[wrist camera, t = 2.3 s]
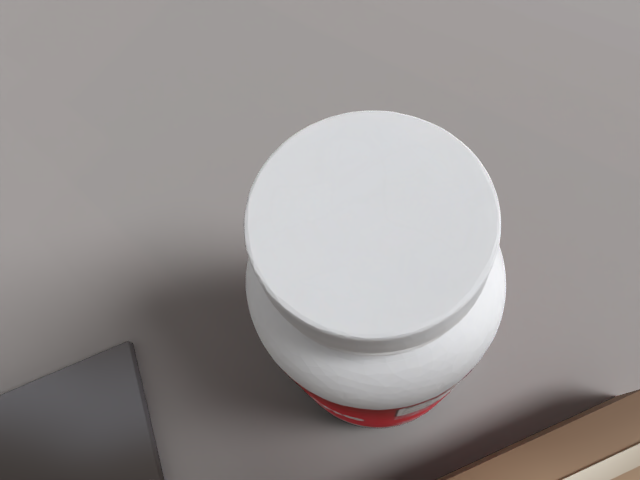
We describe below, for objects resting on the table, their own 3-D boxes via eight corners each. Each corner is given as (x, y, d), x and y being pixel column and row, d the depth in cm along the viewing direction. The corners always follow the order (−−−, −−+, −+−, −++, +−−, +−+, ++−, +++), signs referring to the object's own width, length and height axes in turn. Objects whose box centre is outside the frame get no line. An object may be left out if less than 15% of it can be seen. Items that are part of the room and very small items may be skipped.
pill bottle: (268, 320, 20) (152, 173, 10) (395, 244, 20) (409, 33, 10) (350, 466, 17) (308, 470, 7) (492, 372, 18) (632, 256, 8)
